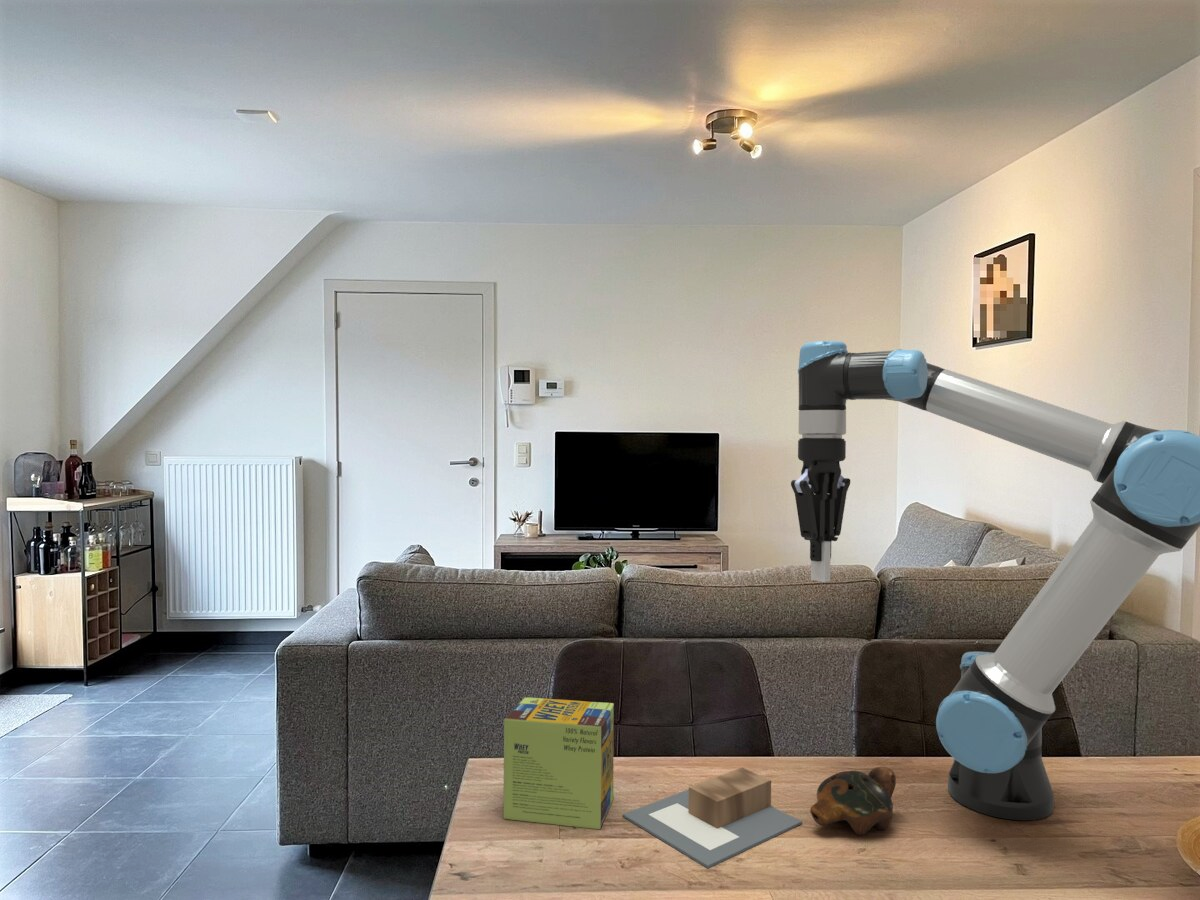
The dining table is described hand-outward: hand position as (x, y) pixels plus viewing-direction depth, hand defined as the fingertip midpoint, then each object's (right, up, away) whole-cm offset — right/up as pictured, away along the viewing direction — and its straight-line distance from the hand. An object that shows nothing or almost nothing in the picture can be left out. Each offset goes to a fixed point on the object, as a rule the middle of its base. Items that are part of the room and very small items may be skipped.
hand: (820, 580), depth 130 cm
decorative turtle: (+2, -35, -12) cm, 37 cm away
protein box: (-42, -35, -7) cm, 55 cm away
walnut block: (-21, -32, -12) cm, 40 cm away
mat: (-19, -35, -10) cm, 41 cm away
